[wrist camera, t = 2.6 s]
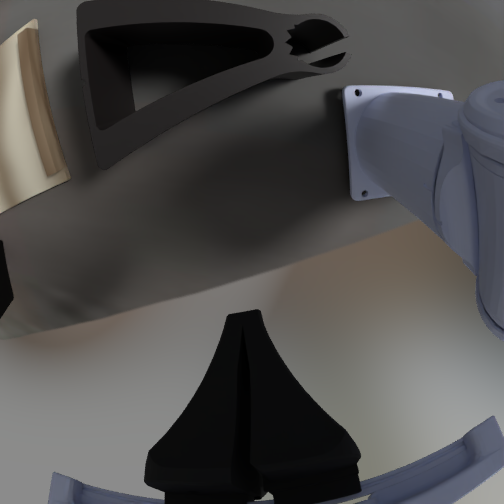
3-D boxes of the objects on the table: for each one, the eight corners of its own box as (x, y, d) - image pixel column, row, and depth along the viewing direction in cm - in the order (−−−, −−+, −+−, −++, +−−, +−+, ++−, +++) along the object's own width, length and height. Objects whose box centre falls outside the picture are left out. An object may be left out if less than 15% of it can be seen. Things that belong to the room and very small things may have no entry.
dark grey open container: (136, 147, 16) (319, 123, 17) (98, 171, 11) (356, 137, 11) (119, 25, 12) (306, -1, 12) (76, 4, 7) (337, -34, 7)
